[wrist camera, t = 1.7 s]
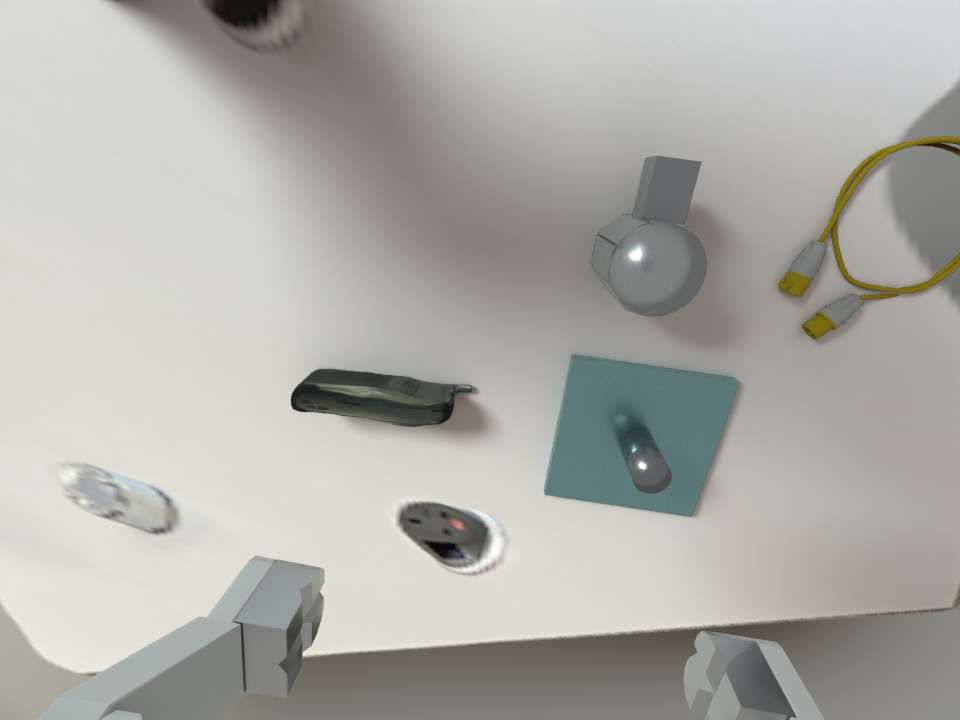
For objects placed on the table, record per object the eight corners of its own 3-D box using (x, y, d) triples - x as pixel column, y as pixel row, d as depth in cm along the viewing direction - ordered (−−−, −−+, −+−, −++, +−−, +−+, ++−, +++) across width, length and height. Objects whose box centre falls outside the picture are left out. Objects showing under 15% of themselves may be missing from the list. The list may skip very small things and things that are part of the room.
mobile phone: (288, 418, 40) (464, 434, 39) (284, 385, 39) (465, 401, 37) (313, 393, 44) (471, 407, 43) (311, 364, 43) (472, 377, 42)
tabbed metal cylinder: (613, 157, 35) (637, 150, 28) (693, 168, 35) (738, 164, 28) (586, 286, 39) (601, 309, 31) (659, 296, 38) (691, 322, 31)
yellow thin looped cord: (751, 202, 36) (764, 203, 34) (985, 104, 33) (1013, 99, 31) (786, 341, 39) (800, 349, 38) (1000, 266, 36) (1027, 271, 34)
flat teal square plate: (572, 354, 41) (581, 384, 35) (734, 377, 40) (772, 411, 34) (544, 488, 46) (548, 534, 40) (688, 510, 45) (714, 560, 39)
